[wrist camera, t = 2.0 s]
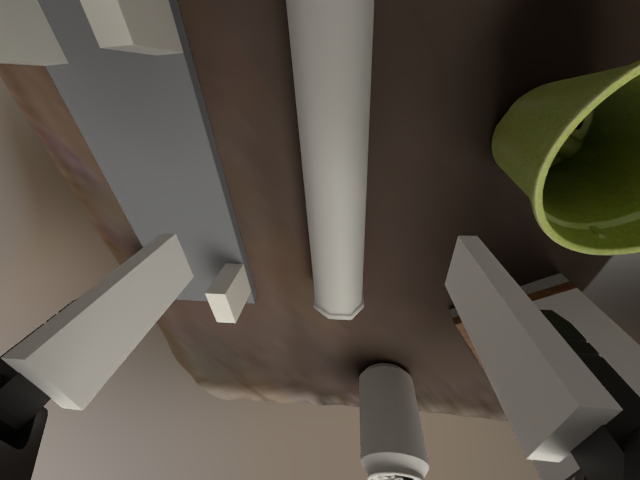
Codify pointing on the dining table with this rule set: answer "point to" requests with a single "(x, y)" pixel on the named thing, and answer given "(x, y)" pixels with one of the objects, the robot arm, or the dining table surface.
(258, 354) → the dining table surface
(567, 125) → the plant pot
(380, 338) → the dining table surface
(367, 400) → the can
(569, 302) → the brown-trimmed grey box
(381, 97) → the dining table surface
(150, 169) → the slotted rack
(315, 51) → the tube
